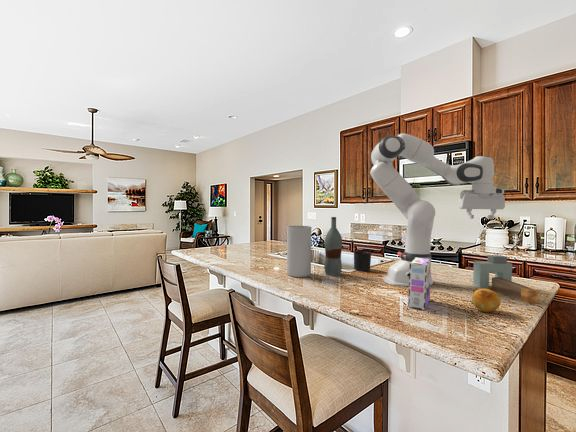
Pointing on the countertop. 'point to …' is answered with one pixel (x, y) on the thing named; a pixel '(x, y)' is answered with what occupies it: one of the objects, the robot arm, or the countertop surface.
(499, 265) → the grey-green arch block
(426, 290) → the candy box
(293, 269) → the cylinder vase
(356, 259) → the pen holder
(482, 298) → the fruit
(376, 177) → the robot arm
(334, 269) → the bottle
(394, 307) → the countertop surface
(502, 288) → the bar
